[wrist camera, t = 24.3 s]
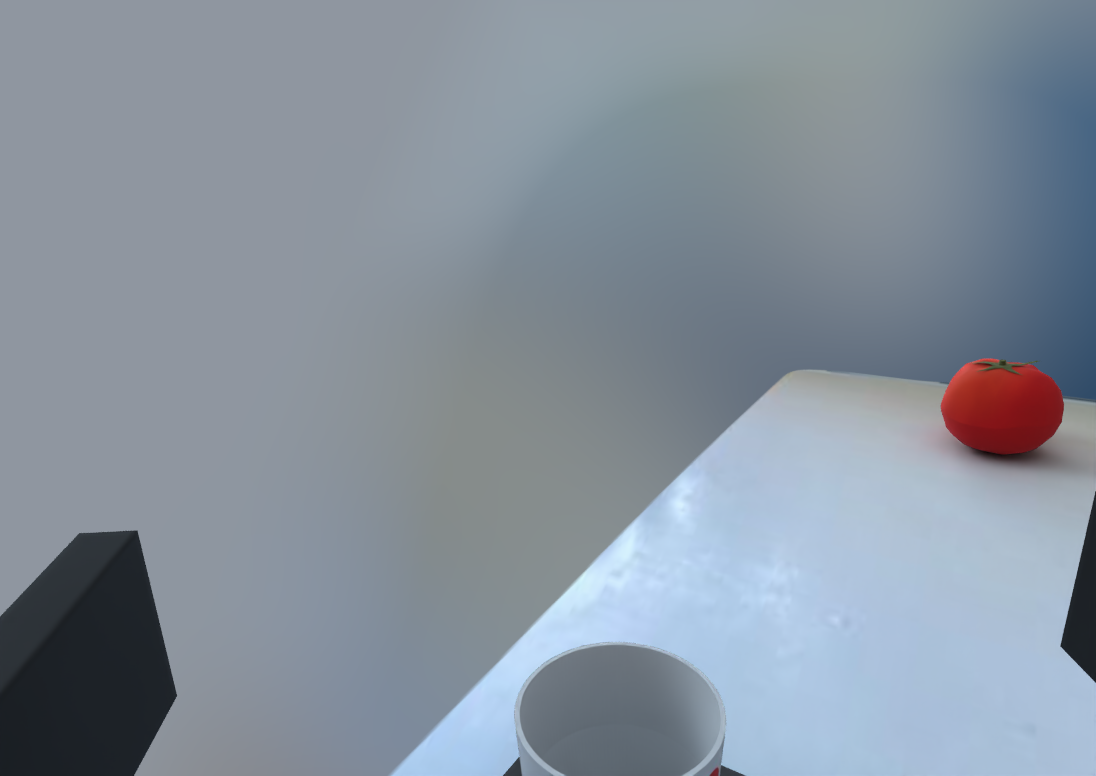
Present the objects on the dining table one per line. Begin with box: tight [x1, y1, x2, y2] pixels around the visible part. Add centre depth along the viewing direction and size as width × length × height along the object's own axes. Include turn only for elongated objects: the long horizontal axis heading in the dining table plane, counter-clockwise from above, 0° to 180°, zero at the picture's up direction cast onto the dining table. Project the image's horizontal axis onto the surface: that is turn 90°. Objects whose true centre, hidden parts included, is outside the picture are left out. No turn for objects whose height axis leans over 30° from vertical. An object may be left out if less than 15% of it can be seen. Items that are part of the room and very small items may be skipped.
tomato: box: [941, 359, 1064, 455], centre depth 75 cm, size 9×10×8 cm
